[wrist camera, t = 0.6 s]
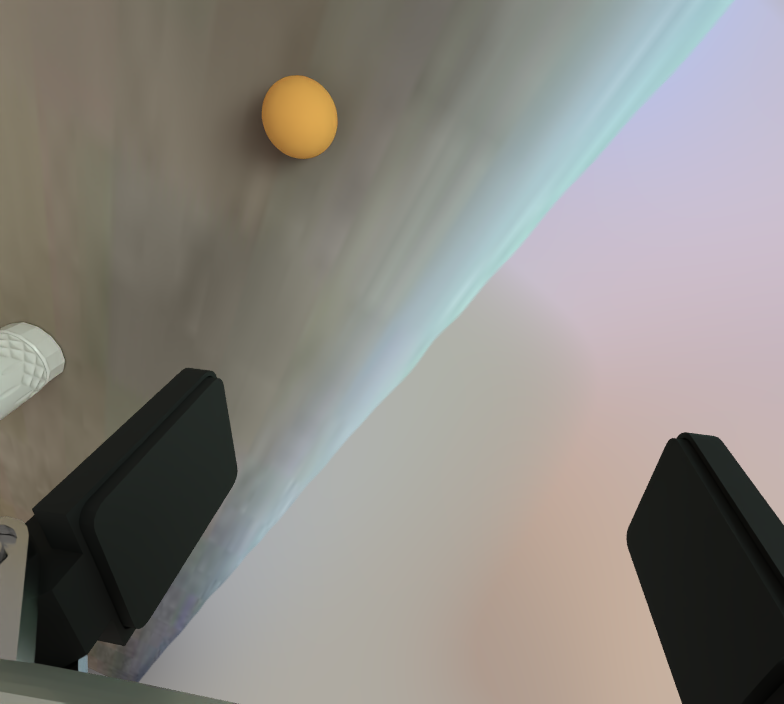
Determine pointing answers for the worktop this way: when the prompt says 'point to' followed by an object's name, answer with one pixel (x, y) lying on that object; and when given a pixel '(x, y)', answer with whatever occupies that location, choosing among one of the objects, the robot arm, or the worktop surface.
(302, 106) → the ball
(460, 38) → the worktop surface
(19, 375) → the white cup
